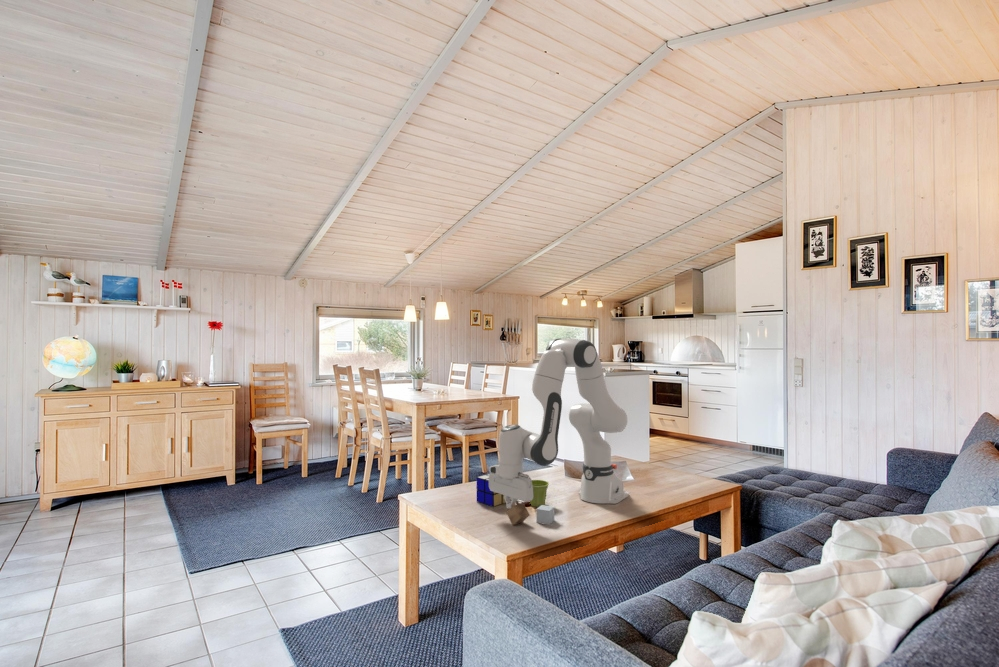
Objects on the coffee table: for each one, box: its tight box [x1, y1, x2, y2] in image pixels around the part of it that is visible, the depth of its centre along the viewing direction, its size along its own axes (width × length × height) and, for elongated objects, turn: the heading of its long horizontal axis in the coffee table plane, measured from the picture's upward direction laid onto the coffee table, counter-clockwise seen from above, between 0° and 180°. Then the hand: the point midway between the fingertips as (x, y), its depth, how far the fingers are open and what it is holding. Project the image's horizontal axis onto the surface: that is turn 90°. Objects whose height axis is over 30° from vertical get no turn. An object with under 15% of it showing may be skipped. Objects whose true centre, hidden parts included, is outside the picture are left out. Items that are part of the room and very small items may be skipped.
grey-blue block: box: [536, 504, 555, 526], centre depth 189 cm, size 5×5×5 cm
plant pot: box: [529, 479, 550, 508], centre depth 208 cm, size 9×9×9 cm
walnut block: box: [506, 502, 531, 526], centre depth 187 cm, size 5×5×5 cm
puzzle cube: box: [476, 473, 506, 508], centre depth 212 cm, size 10×10×10 cm
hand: (510, 508), depth 189 cm, fingers closed
